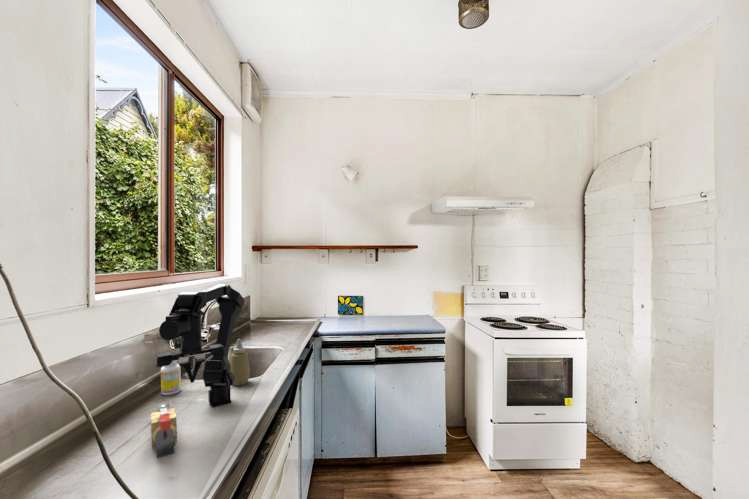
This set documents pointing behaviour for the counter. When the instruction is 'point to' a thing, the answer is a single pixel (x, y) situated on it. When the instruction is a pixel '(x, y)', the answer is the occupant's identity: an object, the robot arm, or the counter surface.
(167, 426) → the valve lever
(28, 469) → the counter surface
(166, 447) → the valve body
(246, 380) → the squeeze bottle
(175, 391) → the supplement bottle
